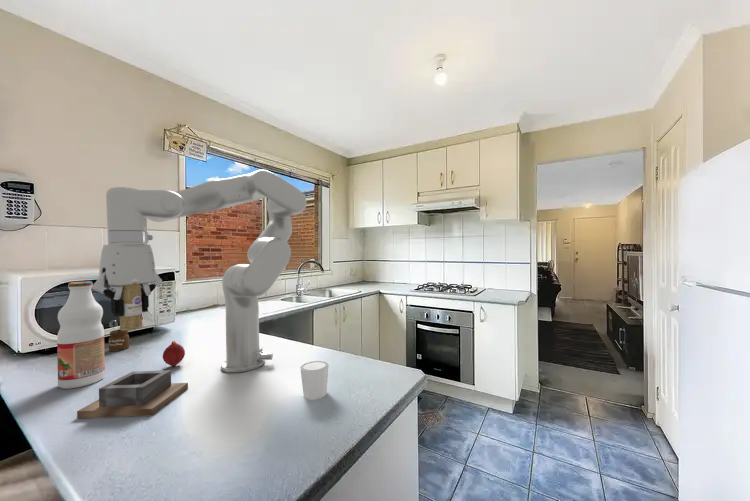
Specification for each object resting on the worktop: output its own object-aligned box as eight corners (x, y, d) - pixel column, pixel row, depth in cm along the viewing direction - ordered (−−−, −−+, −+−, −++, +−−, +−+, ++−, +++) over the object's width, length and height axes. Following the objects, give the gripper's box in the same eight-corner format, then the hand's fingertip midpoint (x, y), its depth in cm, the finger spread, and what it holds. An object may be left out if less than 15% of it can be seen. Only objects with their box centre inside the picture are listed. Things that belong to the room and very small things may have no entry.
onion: (189, 364, 96) (188, 339, 96) (170, 371, 91) (169, 344, 91) (177, 362, 98) (177, 337, 98) (158, 368, 93) (158, 342, 93)
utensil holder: (114, 347, 116) (114, 316, 116) (133, 346, 117) (133, 315, 117) (104, 352, 110) (104, 319, 110) (124, 350, 111) (124, 318, 112)
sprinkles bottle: (134, 330, 71) (132, 274, 71) (114, 331, 71) (112, 275, 71) (147, 325, 76) (145, 272, 76) (128, 326, 76) (126, 273, 76)
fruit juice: (97, 385, 82) (95, 282, 82) (50, 392, 78) (48, 284, 78) (110, 372, 90) (108, 279, 90) (68, 379, 86) (66, 281, 86)
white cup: (304, 403, 69) (304, 373, 69) (297, 391, 75) (297, 363, 75) (333, 396, 72) (332, 367, 72) (324, 385, 78) (323, 358, 78)
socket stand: (188, 388, 78) (187, 367, 78) (152, 415, 65) (151, 390, 65) (125, 390, 78) (125, 369, 78) (77, 418, 65) (76, 392, 65)
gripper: (156, 240, 83) (158, 306, 83) (75, 239, 67) (78, 320, 67) (173, 239, 79) (175, 307, 80) (92, 237, 64) (95, 323, 64)
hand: (130, 312), depth 73 cm, fingers closed on sprinkles bottle, 4 cm apart
